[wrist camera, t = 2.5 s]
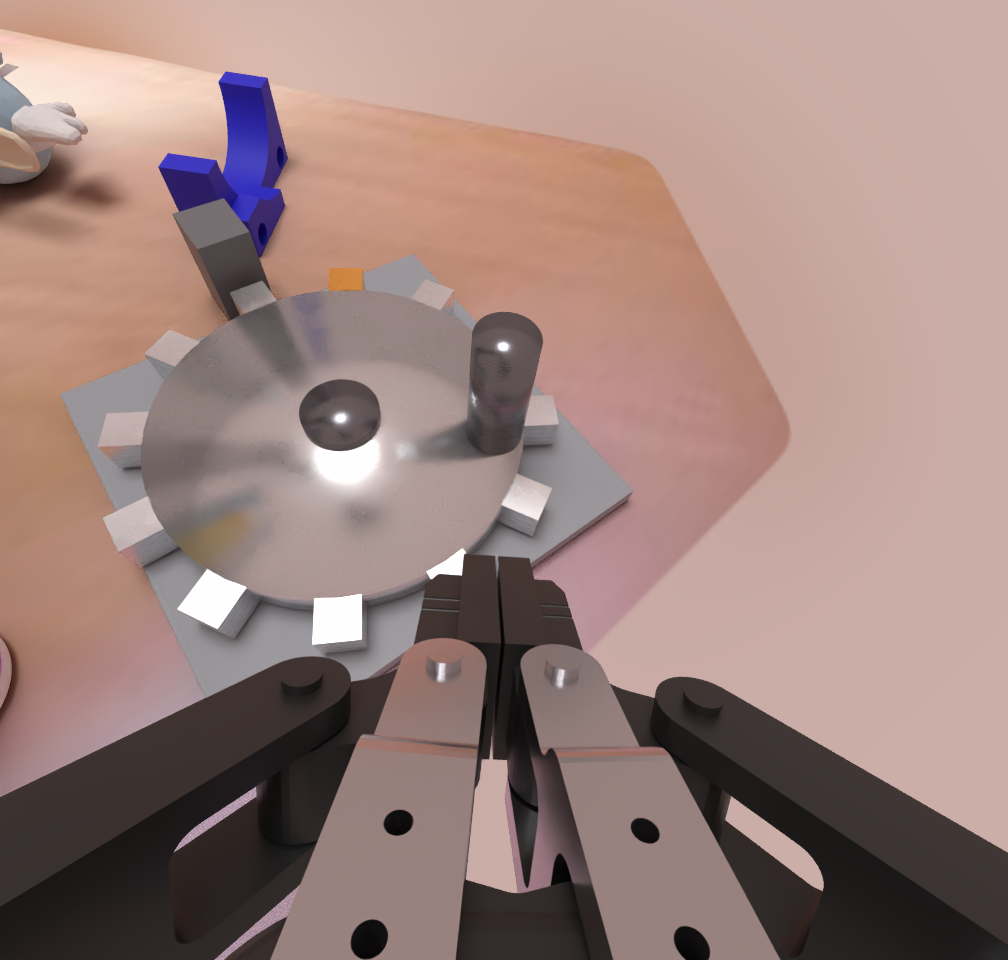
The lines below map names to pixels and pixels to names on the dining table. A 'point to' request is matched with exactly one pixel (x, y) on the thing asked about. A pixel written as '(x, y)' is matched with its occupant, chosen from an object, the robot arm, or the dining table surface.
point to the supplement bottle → (4, 671)
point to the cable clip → (238, 161)
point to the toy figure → (31, 131)
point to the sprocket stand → (289, 632)
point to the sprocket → (331, 451)
